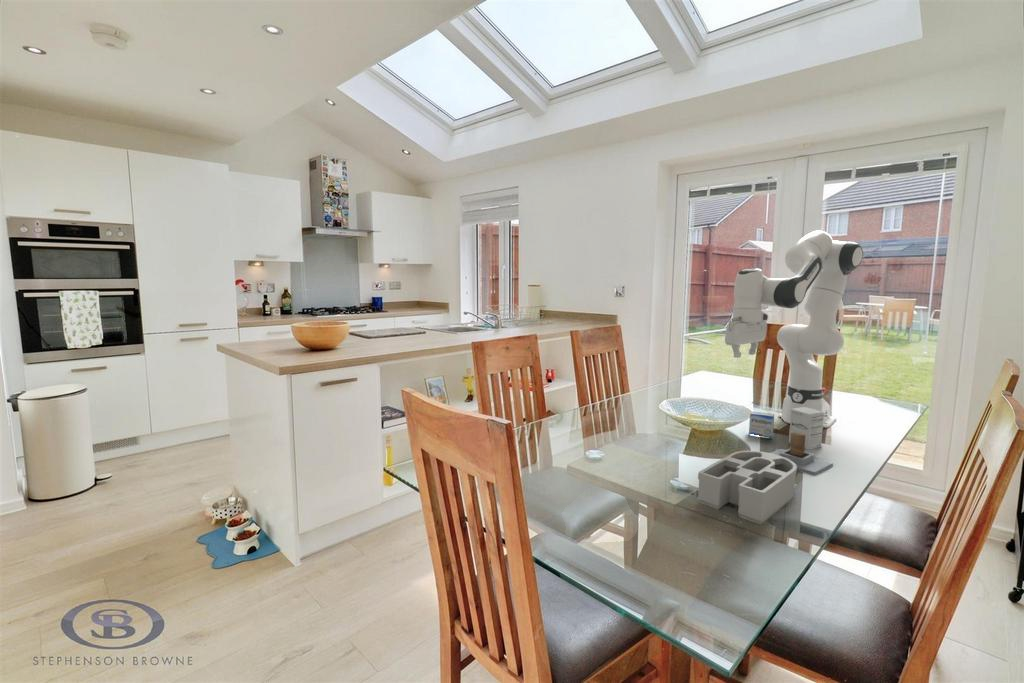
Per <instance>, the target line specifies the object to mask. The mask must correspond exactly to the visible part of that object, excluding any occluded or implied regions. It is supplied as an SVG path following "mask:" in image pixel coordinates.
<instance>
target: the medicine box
mask: <svg viewBox="0 0 1024 683" xmlns="http://www.w3.org/2000/svg"><path fill="white" fill-rule="evenodd" d="M774 421H775V413H769V412H768V413H767V412H759V411H750V412H749V423H748V424H749V425H748V435H749V434H754V435H759V436H764V437H769V438H773V437H774V426H775V425H774V423H775V422H774Z"/></svg>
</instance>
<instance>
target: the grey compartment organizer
mask: <svg viewBox="0 0 1024 683" xmlns="http://www.w3.org/2000/svg"><path fill="white" fill-rule="evenodd" d="M797 471H798V470H797V466H796V464H795V463H794V462H792V461H791V460H789V459H787V458H785V457H782V456H779V455H776V454H772V453H771V452H766V451H757V450H740V451H735V452H733V453H731V454H729V455H727V456H725V457H723V458H722V459H720V460H718V461H716V462H714V463H712V464H710V465H709V466H706V467H705V468H703V469H701V470H699V471H698V472H697V480H698V495H697V499H698V502H699V504H702V505H706V506H707V507H711V508H713V509H716V510H719V509H721V508H722V507H724V506H725V505H726V504H728V503H731V504H732V505H737V506H738V507H737V509H738V510H737V511H738V512H737V514H738V517H739V518H741V519H744V520H746V521H749V522H752V523H755V524H757V525H760V526H761V525H763V524H764V523H765V522H766V521H767V520H768V519H769V518H770V517H772V516H773V515H774V514H775V513H776V512H778V511H780V509H782V508H783V507H784V506H785V505H786V504H787V503H789V501H790V502H791V500H792V499H793V497H794V494H795V490H796V489H795V488H796V486H795V485H796V475H797Z"/></svg>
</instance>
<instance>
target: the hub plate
mask: <svg viewBox="0 0 1024 683" xmlns="http://www.w3.org/2000/svg"><path fill="white" fill-rule="evenodd" d="M770 453H772V454H776V455H779V456H782V457H785V458H787V459H789V460H791V461H792V462H794V463H795V464H796V466H797V471H799V472H801V473H805V474H808V475H811V476H814V477H815V476H816V475H818V474H821V473H822V472H824V471H826V470H828V469H830V468H832V467H833V462H830V461H827V460H824V459H821V458H820V459H819V458H815V453H811V452H807V451H805V452H804V458H799V457H796V456H792V455H790V448H787V449H784V448H778V449H776V450H774V451H771V452H770Z"/></svg>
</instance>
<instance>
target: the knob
mask: <svg viewBox="0 0 1024 683" xmlns="http://www.w3.org/2000/svg"><path fill="white" fill-rule="evenodd" d="M805 438H806V435H805V434H803V433H798V432H792V433H791V441H790V443H789V449H790V455H792V456H796V457H799V458H804V452H806V451H805V450H806V449H805Z"/></svg>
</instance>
